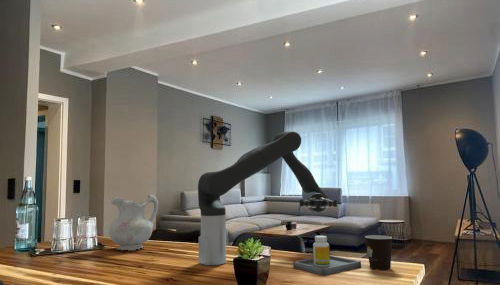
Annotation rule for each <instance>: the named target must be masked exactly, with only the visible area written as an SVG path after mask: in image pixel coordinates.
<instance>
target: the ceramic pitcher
mask: <svg viewBox="0 0 500 285" xmlns="http://www.w3.org/2000/svg"><path fill="white" fill-rule="evenodd" d="M150 203H153V211H152V213H151V216H150V219H149V218H147V217H146V215H145V210H146V209H145V208H146V206H148V205H149V204H150ZM110 204H112V205H114V206H116V208H117V210H118V215H117V218H115V219H114V220H113V221H112V222H111V223H110V224H109V227H108V234H109V238H110V239H111V241H112V242H113V243H114V244H117V245H118V248H117V250H120V251H123V250H128V251H137V250H136V249H138V250H141V249H140V248H142V249H144V248H143V247H144V245H143V243H144V244H145V243H146V242H147V241H149V239H150V238H151V236H152V233H153V228H154V220H155V218H156V216H157V214H158V211H159V200H158V199H157V197H156V195H155V194H148V195H147V198H146V200H145V201H140V202H137V201H134V200H125V198H122V197H119V196H115V197H112V199H111V201H110Z"/></svg>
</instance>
